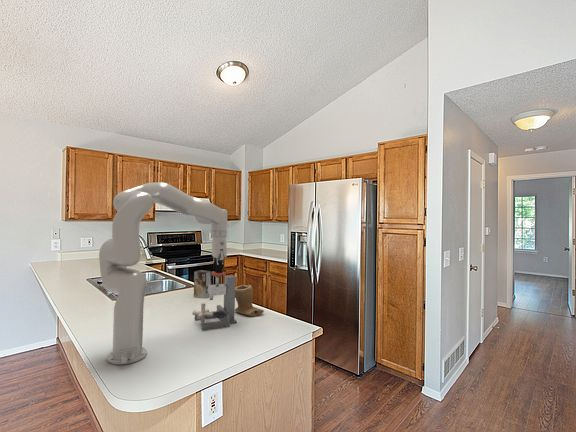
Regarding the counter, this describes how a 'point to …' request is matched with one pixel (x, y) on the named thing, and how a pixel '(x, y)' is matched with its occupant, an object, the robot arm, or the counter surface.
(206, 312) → the pipe connector
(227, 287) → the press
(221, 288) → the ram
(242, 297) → the brown boot vase
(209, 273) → the coffee box
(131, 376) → the counter surface
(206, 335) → the counter surface
